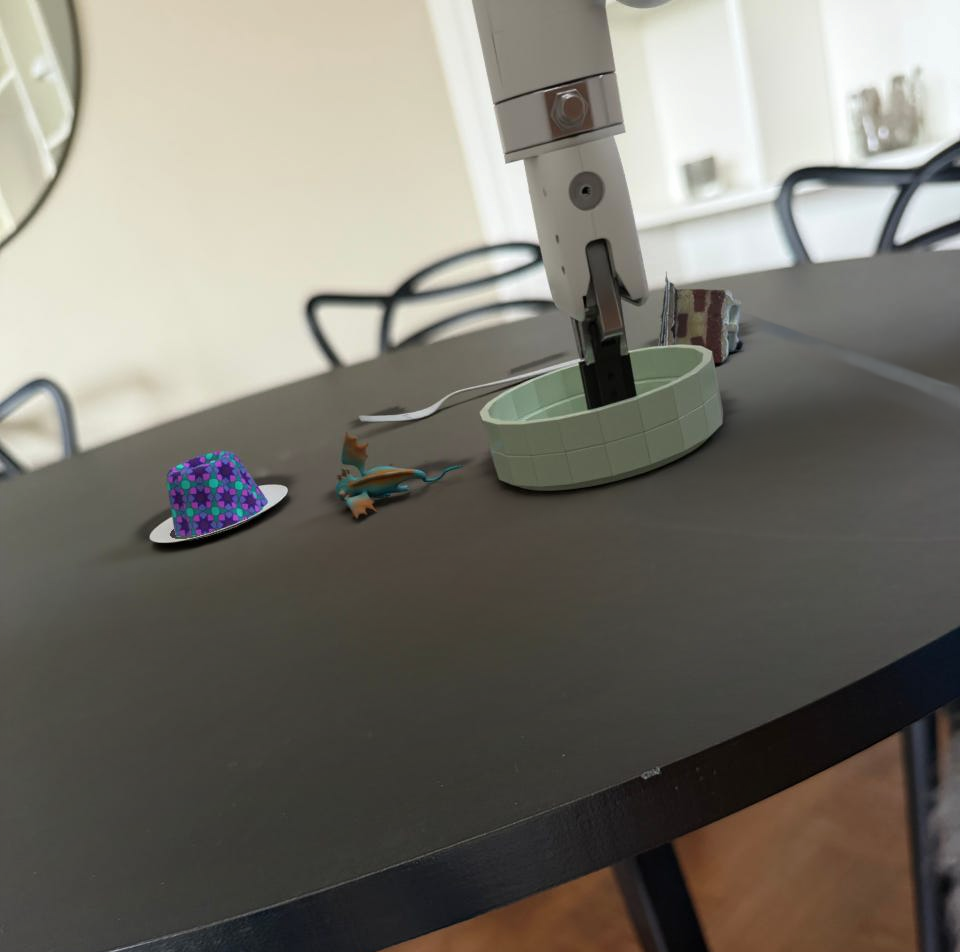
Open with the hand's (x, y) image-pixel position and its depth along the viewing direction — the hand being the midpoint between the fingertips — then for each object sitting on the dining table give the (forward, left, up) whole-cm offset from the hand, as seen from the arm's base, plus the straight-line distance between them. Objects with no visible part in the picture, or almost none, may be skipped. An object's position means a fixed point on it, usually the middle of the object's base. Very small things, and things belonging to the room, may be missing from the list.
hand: (614, 415), depth 70 cm
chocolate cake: (-12, -22, -3) cm, 25 cm away
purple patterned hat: (+32, -15, -3) cm, 35 cm away
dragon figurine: (+17, -6, -3) cm, 18 cm away
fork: (+8, -34, -3) cm, 35 cm away
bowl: (+1, -2, -3) cm, 3 cm away
